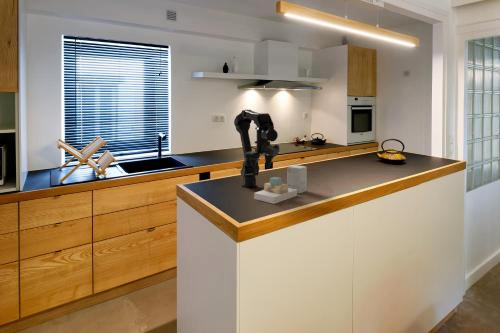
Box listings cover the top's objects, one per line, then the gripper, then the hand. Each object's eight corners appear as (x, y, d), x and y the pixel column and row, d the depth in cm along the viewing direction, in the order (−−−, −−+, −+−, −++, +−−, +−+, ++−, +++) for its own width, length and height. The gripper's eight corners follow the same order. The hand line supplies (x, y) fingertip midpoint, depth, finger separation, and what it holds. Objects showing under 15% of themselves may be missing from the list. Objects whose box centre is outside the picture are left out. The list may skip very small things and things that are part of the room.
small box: (306, 191, 163) (307, 166, 161) (299, 193, 159) (300, 168, 156) (293, 188, 169) (294, 164, 166) (286, 191, 164) (286, 166, 162)
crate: (269, 184, 152) (269, 178, 151) (274, 182, 155) (274, 176, 154) (276, 185, 149) (276, 179, 149) (281, 184, 152) (281, 177, 151)
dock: (253, 198, 151) (253, 192, 150) (277, 191, 164) (277, 185, 163) (273, 203, 143) (274, 197, 142) (296, 195, 155) (297, 189, 155)
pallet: (263, 190, 154) (264, 183, 153) (271, 188, 158) (271, 181, 157) (280, 194, 147) (280, 187, 146) (288, 191, 151) (288, 184, 151)
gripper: (262, 142, 143) (262, 176, 146) (287, 138, 156) (286, 169, 159) (244, 140, 150) (244, 172, 153) (269, 137, 164) (269, 166, 167)
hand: (262, 170), depth 158 cm, fingers open, 9 cm apart
